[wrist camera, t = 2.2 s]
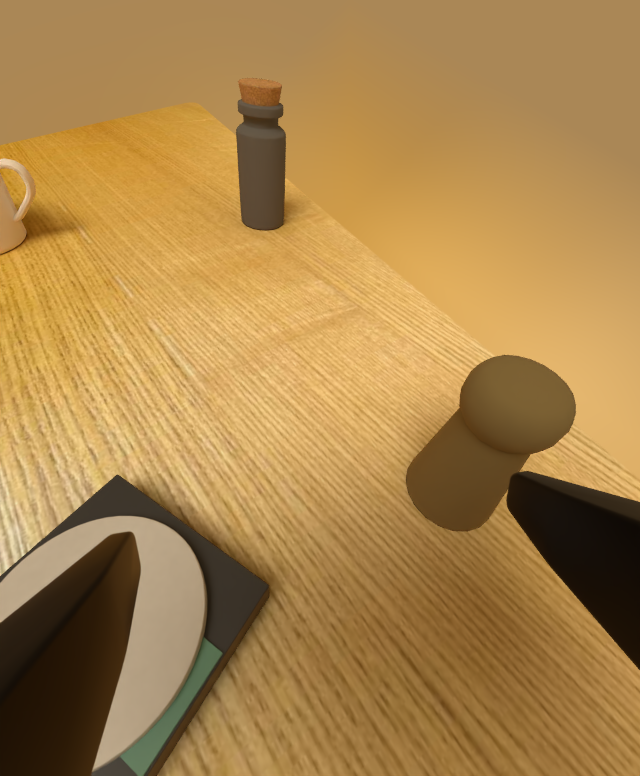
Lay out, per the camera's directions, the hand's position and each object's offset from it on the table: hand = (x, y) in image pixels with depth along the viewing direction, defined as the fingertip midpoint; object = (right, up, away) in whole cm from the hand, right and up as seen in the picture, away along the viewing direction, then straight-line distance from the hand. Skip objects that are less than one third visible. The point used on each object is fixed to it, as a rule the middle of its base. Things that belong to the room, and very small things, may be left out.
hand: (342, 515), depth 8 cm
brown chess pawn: (+8, -4, +17) cm, 19 cm away
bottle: (-9, +26, +42) cm, 50 cm away
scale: (-11, -9, +9) cm, 17 cm away
